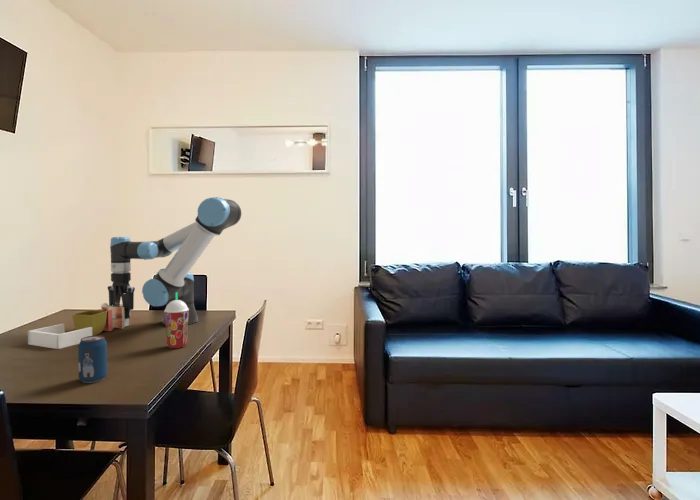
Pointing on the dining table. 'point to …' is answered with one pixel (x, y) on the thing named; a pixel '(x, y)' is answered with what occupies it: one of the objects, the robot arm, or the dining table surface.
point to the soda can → (92, 359)
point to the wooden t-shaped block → (113, 316)
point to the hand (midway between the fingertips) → (121, 325)
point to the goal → (57, 336)
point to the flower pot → (90, 320)
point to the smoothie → (176, 323)
